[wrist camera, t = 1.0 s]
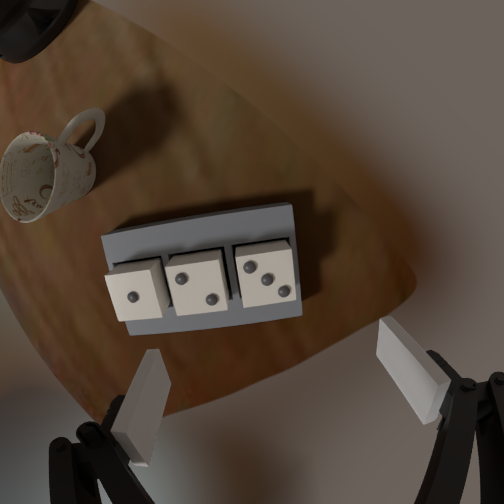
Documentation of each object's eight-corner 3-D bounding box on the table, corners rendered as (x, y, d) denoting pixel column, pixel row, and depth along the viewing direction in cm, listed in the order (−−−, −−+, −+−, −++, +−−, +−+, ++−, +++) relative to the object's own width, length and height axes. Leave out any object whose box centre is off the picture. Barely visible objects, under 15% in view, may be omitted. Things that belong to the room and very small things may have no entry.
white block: (118, 264, 29) (103, 276, 25) (160, 257, 29) (149, 270, 25) (130, 305, 30) (118, 322, 26) (170, 301, 30) (162, 318, 26)
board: (112, 230, 30) (101, 235, 27) (286, 201, 30) (292, 204, 27) (137, 323, 33) (129, 335, 30) (297, 303, 33) (302, 315, 31)
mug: (41, 181, 28) (-11, 188, 18) (96, 97, 26) (49, 75, 16) (80, 221, 30) (30, 241, 20) (141, 135, 28) (101, 121, 18)
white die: (173, 255, 29) (164, 267, 25) (220, 248, 29) (218, 260, 25) (183, 299, 30) (176, 316, 26) (229, 294, 30) (227, 310, 26)
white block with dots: (235, 246, 29) (235, 257, 25) (284, 239, 29) (291, 249, 25) (243, 292, 30) (243, 308, 26) (289, 285, 30) (296, 300, 26)
